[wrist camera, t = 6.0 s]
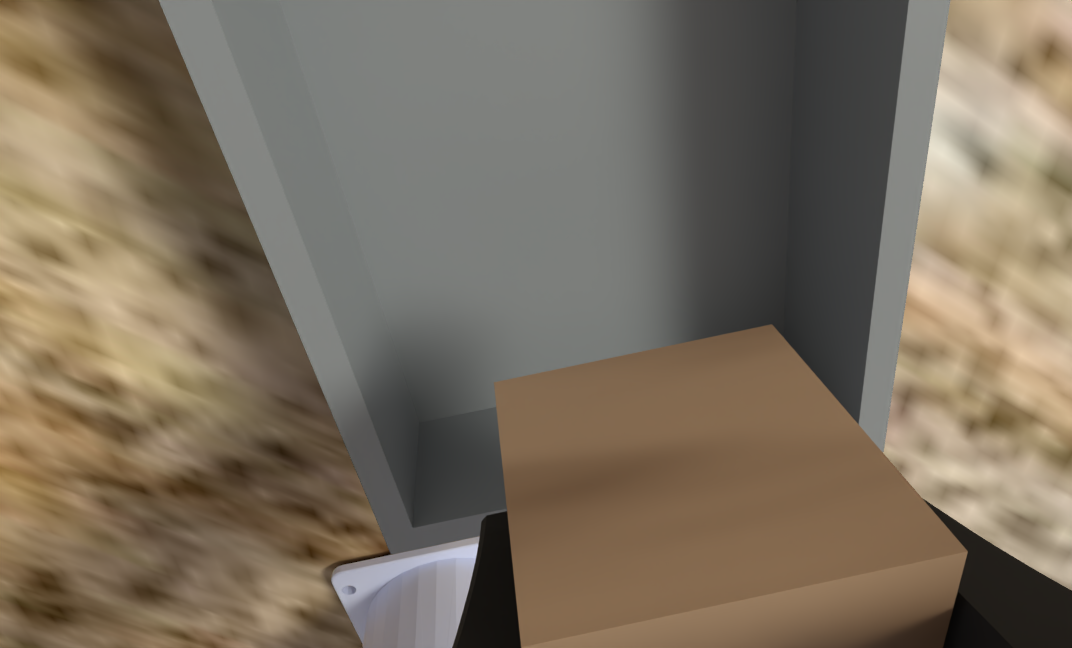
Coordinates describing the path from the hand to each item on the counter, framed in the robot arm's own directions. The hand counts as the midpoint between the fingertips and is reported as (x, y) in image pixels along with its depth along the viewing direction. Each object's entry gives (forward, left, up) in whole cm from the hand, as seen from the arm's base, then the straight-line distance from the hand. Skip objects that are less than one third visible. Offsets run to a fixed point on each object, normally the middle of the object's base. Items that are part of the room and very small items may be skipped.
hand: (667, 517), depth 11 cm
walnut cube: (0, 0, -1) cm, 1 cm away
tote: (+4, 0, -9) cm, 10 cm away
